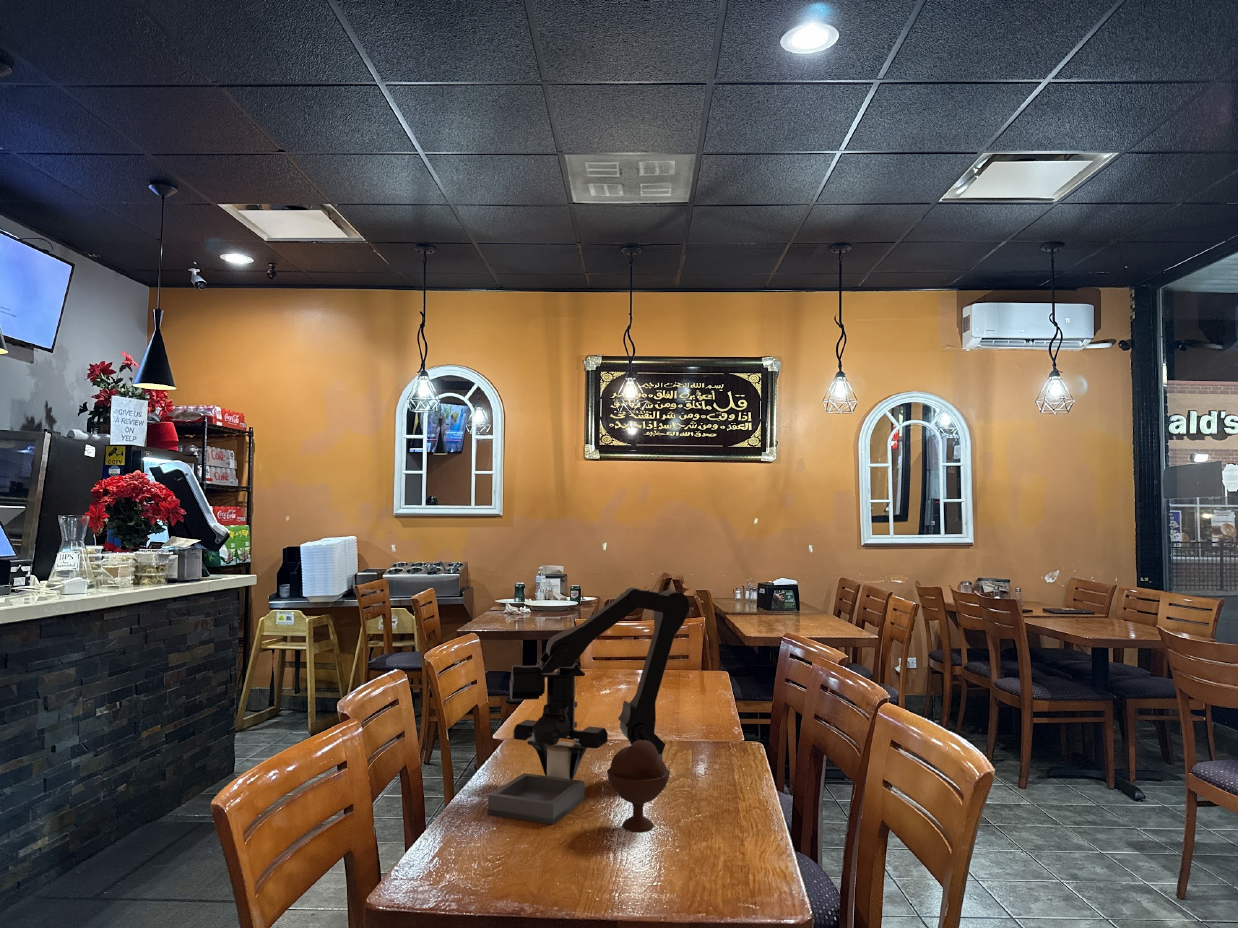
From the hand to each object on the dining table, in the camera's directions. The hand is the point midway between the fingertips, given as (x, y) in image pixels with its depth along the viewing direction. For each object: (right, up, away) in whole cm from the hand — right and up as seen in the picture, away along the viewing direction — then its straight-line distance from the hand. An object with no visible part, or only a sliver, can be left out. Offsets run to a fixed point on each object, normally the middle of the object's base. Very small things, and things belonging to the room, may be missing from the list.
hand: (559, 776), depth 164 cm
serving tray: (-3, -1, -13) cm, 13 cm away
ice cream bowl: (+15, 0, -22) cm, 27 cm away
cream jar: (0, -2, 0) cm, 2 cm away
